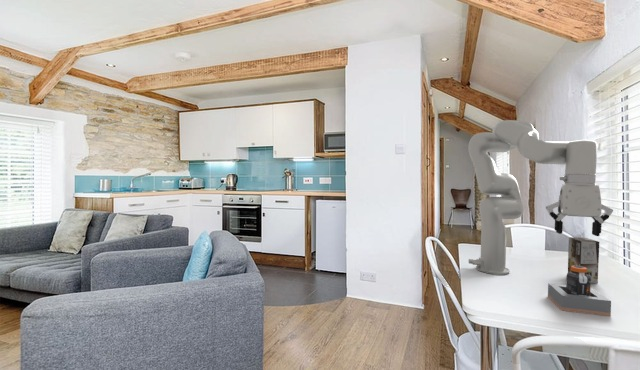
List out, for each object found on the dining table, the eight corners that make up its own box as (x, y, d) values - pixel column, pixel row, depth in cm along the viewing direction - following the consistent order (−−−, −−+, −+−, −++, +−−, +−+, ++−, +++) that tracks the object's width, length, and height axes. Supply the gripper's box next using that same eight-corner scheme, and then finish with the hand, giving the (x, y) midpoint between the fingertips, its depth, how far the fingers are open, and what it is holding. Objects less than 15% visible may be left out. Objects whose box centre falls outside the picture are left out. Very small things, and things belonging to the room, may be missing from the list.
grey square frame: (561, 310, 98) (562, 295, 98) (547, 296, 110) (548, 283, 109) (610, 316, 94) (611, 301, 94) (590, 301, 106) (591, 287, 106)
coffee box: (598, 283, 124) (600, 241, 123) (579, 282, 125) (581, 240, 125) (584, 276, 133) (586, 237, 132) (566, 275, 134) (568, 236, 134)
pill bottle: (591, 307, 98) (593, 270, 98) (566, 303, 101) (568, 267, 101) (587, 301, 103) (589, 266, 103) (564, 297, 106) (566, 263, 106)
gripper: (551, 179, 101) (549, 234, 102) (620, 181, 95) (617, 238, 96) (543, 179, 108) (541, 230, 109) (607, 180, 103) (604, 234, 103)
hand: (577, 234), depth 102 cm, fingers open, 9 cm apart
